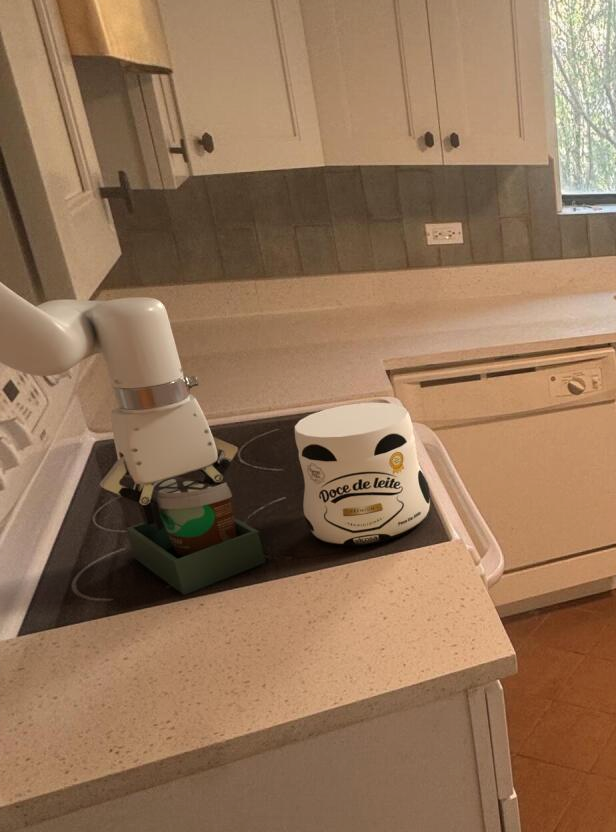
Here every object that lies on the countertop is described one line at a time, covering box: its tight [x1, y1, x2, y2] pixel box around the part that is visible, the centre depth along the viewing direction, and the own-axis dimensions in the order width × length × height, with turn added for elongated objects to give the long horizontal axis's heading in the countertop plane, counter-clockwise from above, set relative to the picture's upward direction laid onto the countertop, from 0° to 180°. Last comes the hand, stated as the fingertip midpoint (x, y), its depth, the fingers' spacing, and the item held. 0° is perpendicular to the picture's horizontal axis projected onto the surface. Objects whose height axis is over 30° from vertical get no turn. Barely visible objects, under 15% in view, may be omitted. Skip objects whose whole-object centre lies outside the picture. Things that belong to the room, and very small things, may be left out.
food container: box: [152, 476, 237, 557], centre depth 108 cm, size 12×6×10 cm, turn 67°
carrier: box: [125, 516, 266, 596], centre depth 110 cm, size 16×10×6 cm, turn 55°
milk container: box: [294, 402, 431, 547], centre depth 117 cm, size 17×17×18 cm
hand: (186, 515), depth 108 cm, fingers closed on food container, 6 cm apart
